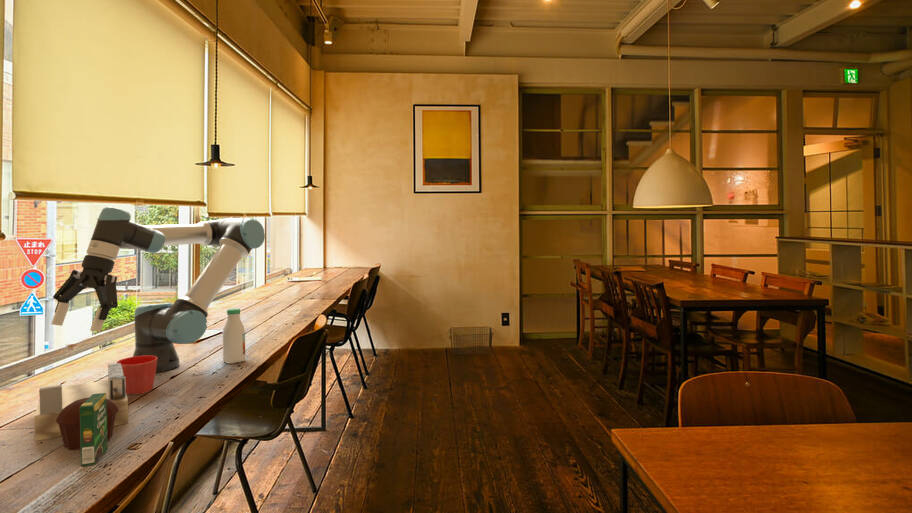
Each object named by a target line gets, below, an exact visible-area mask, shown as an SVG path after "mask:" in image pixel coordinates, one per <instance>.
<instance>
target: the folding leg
mask: <svg viewBox="0 0 912 513" xmlns="http://www.w3.org/2000/svg"><path fill="white" fill-rule="evenodd" d="M107 377H108V378H107V380H108V383H109V399H119V398H123V397H125V396H126V395H127V394H126V377H125V376H124V374H123V370H122V366H121V363H109V364H107Z"/></svg>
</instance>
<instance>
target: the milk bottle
mask: <svg viewBox="0 0 912 513" xmlns="http://www.w3.org/2000/svg"><path fill="white" fill-rule="evenodd" d="M226 315H227V320H226V323H225V324H224V327H223V331H222V362H223V361H224V362H239V363H241V362H240V361H243V360H244V361H246V331H245V326H244V324H243V322H242V320H241V316H240V315H241V309H240V308H228V309H226ZM244 361H243V362H244ZM224 362H223V363H224Z"/></svg>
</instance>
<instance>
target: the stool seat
mask: <svg viewBox="0 0 912 513" xmlns="http://www.w3.org/2000/svg"><path fill="white" fill-rule="evenodd" d="M99 393H106V399H109V383H108V379H107V380H100V381H94V382H92V381H91V382H86V383H81V384H79V383H78V384H73V385H66V386H62V409H63V408H65V407H66V406H68V405H69V404H71V403H73V402H74V401H76V400H80V399H83V398H88V397H90V396H91V395H92V394H99ZM109 400H111V401H113V402H114V403H115V404H116V405H117V407H118V408H119V411H118V412H117V413H116V415H115V421H114V427H116V426H119V425H125V424H129V401H128V400H129V399H128V394H126V396H125V397H123V398H119V399H109ZM60 412H61V411H60ZM60 412H54V413H49V414H43V415H40V398H39V399H38V403H37V406H36V410H35V412H34V434H35V435H34V441H35V442H37V441H43V440H48V439H53V438H58V437H62V436H61V432H60V428H59V424H58V423H57V422H56V418H57V417H58V415H59V413H60Z"/></svg>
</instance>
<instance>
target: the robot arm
mask: <svg viewBox="0 0 912 513" xmlns="http://www.w3.org/2000/svg"><path fill="white" fill-rule="evenodd" d="M131 218H132V215H131V213H130V212H128V211H127V210H124V209H121V208H119V207H115V206H105V207H103V208H102V209H101V211H100V213H99V216H98V218H97V219H96V220H97V221H96V224H95V227H94V230H93V233H92V236H91V238H90V242H89V243H88V246H87V250H86V255H84V257H83V260H82V263H81V267H82V268H83V269H82V271H81V270H77V269H73V270H71V273H70V275H69V277H68V278H67V279H66V280H65V282H63V284H62V285H61V286H60V287H59V289H58V290H57V291H56V292H55V294H54V295H53V296H52V299H54V300H56V302H57V304H56V306H55V309H54V316H53V318H52V321H51V323H50V324H51V325H55V326H61V327H62V326H63V325H64V322H65V319H66V316H67V314H68V310H69V307H70V305H71V304H70V301H71V300H72V299H74V298H75V297H76V296H77V295H78V294H80V293H81V292H82V291H83V290H86V289H93V290H95V293H96V296H97V300H98V301H99V306H98V308H97V309H96V312H95V315H94V317H93V321H92V324H91V326H90V329H89V331H93V332H99V333H100V332H101V331H102V329H103V325H104V323H105V321H106V320H107V318H108V315H109V313H110V310H112V309H117V308H118V307H119V306H118V305H119V304H118V303H119V302H118V292H117V281H118V276H116V275H112V274H111V273H112V272H113V269H114V266H115V264H116V263H115V261H116V260H117V258H118V254H119V253H120V252H119V251H120V249H121V250H122V249H123V250H124V249H125V250H141V251H144V252H146V253H150V254H157V253H159V252H160V251H161V250H162V249H163V247H164V246H179V245H180V246H181V245H182V246H183V245H197V244H199V245H201V246H204V247H205V246H215V247H218V249H217V250H216V252H215V253H214V255H213V256H212V257H211V259H210V260H209V261H208V263H207V264H206V266H205V267H204V269H203V270H202V271H201V273H199V276H198V277H197V278H196V279H195V281H194V283H193V284H192V285H191V287H190V288H189V289H188V291H187V292H186V293H185V295H184V296H183V297H180V298H177V299H176V300H175V301H174V302H165V303H164V302H162V303H155V304H148V305H147V304H146V305H145V304H144V305H139V306H137V307H136V308H135V309H134V315H133V317H134V339H135V340H134V342H135V343H134V344H135V346H134V347H135V348H134V351H133V354H132V357H135V356H145V355H150V356H156V357H157V366H156V373H161V372H165V371H169V370H173V369H175V367H176V368H177V366H178V365H179V366H180V358H179V354H178V353H177V350H176V347H175V345H174V344H176V345H188V344H193V343H195V342H197V341H198V340H200V339H201V338H202V337H203V336H204V334H205V333H206V330H207V327H208V325H207V323H208V319H207V317H208V316H209V312H208V309H209V307H210V305H212V304H211V303H212V302H213V301H214V300H215V297H216V296H217V295H218V293H219V292H220V290H221V289H222V287H223V286H224V284H225V283H226V281H227V280H228V278H229V277H230V275H231V274H232V272H233V271H234V270H235V268H236V267H237V265H238V263H239V262H240V260H241V259H242V258H247V257H248V256H249V254H250V253H251V251H252V250H253V249H258V248H261V246H262V245H263V244H264V242H265V238H266V236H265V228H264V227H263V225H262V224H261V222H260V221H258V220H257V219H255V218H250V217H243V218H221V219H216V220H215V219H214V220H207V221H205V220H203V221H199V222H198V223H193V224H189V223H186V224H185V223H184V224H147V225H142V224H139V223H137V222H134V221H132V220H131ZM179 366H178V367H179ZM172 368H173V369H172ZM160 371H161V372H160Z"/></svg>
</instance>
